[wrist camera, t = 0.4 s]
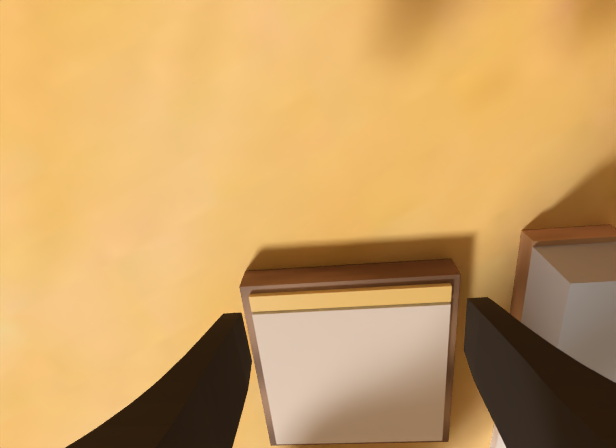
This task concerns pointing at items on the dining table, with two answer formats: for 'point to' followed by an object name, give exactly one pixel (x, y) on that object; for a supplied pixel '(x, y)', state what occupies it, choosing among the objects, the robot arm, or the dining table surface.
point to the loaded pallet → (570, 292)
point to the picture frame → (354, 350)
